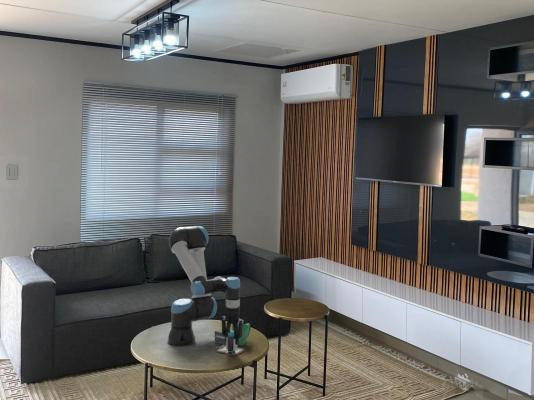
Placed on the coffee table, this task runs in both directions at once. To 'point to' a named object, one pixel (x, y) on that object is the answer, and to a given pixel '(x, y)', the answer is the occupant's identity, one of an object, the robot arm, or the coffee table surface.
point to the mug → (244, 333)
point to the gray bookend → (219, 338)
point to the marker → (231, 341)
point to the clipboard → (225, 351)
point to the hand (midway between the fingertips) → (231, 349)
